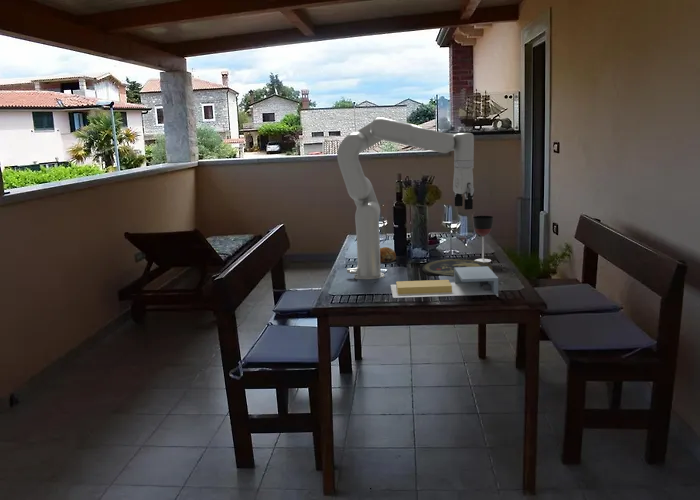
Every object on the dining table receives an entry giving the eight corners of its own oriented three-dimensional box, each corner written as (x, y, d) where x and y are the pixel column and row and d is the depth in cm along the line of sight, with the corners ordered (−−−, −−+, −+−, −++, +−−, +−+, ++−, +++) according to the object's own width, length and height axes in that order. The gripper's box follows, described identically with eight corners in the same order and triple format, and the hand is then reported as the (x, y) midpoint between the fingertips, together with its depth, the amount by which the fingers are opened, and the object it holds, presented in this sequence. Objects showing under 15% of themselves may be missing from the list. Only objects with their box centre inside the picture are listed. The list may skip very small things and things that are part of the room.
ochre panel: (397, 294, 225) (397, 287, 224) (396, 287, 233) (396, 281, 233) (451, 292, 224) (451, 285, 224) (448, 285, 233) (448, 279, 232)
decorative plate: (419, 274, 249) (425, 258, 278) (419, 279, 250) (425, 262, 278) (494, 276, 243) (492, 259, 272) (494, 280, 244) (492, 263, 272)
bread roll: (397, 266, 288) (397, 249, 290) (393, 261, 278) (394, 244, 280) (376, 265, 290) (377, 249, 292) (372, 261, 280) (373, 244, 282)
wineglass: (493, 262, 272) (493, 218, 268) (473, 262, 273) (473, 218, 269) (492, 258, 279) (492, 215, 275) (472, 258, 281) (473, 215, 277)
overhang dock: (393, 300, 220) (392, 281, 219) (390, 287, 238) (390, 269, 237) (498, 296, 220) (498, 278, 218) (487, 283, 237) (488, 266, 236)
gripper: (446, 163, 247) (446, 205, 251) (463, 166, 231) (463, 211, 234) (463, 163, 249) (463, 204, 252) (482, 165, 232) (481, 210, 236)
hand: (463, 207), depth 243 cm, fingers open, 9 cm apart
